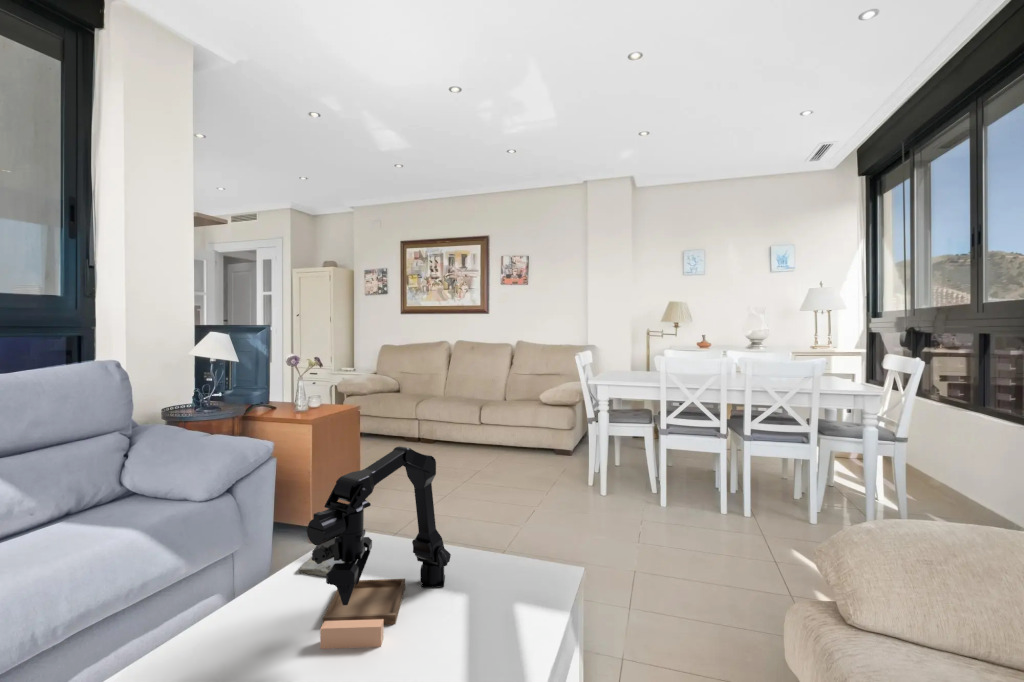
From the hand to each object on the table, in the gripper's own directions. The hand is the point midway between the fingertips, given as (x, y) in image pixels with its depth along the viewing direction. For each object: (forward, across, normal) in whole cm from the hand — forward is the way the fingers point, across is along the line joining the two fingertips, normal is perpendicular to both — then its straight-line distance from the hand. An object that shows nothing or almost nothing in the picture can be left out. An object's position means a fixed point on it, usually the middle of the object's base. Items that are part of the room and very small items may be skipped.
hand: (350, 594), depth 117 cm
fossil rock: (+12, -40, -17) cm, 45 cm away
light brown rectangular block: (+12, +1, +1) cm, 12 cm away
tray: (+11, -15, 0) cm, 19 cm away
